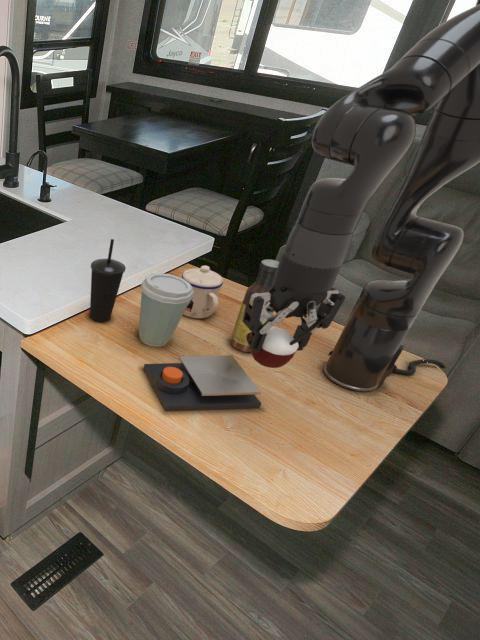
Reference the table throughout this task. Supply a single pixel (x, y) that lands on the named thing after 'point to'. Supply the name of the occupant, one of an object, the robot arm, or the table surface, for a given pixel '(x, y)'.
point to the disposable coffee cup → (162, 307)
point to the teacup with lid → (202, 291)
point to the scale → (192, 393)
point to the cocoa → (280, 345)
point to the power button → (172, 375)
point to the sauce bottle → (260, 286)
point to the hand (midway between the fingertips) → (275, 348)
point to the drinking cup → (105, 286)
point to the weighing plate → (218, 375)
